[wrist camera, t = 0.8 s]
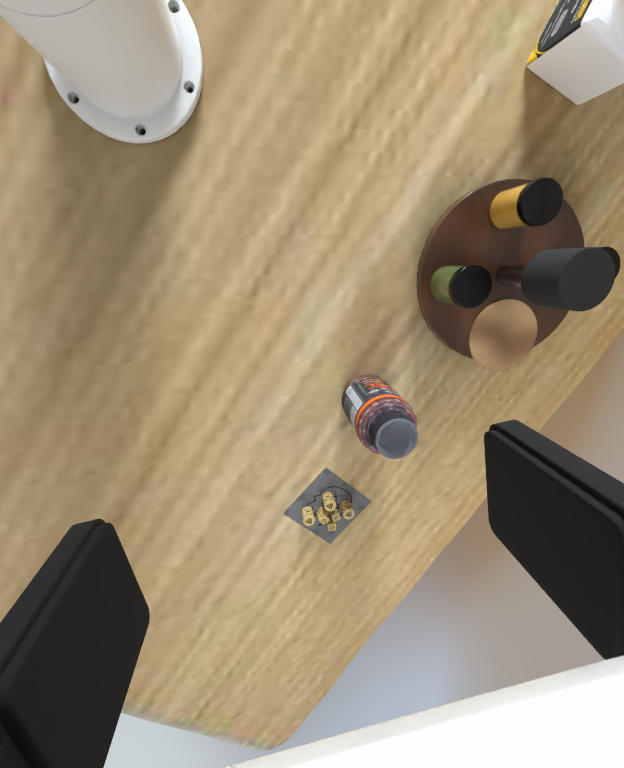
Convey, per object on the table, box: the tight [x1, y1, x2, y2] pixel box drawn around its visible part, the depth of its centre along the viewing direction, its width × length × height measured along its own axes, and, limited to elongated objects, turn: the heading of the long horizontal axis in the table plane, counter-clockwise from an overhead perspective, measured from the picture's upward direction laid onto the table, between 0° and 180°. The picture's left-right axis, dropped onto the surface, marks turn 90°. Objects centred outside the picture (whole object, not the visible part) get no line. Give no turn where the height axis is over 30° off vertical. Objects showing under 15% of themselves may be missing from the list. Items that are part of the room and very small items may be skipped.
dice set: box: [301, 491, 356, 532], centre depth 48 cm, size 5×5×2 cm
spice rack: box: [417, 177, 620, 371], centre depth 35 cm, size 19×18×12 cm
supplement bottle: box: [342, 375, 418, 459], centre depth 39 cm, size 6×6×11 cm
